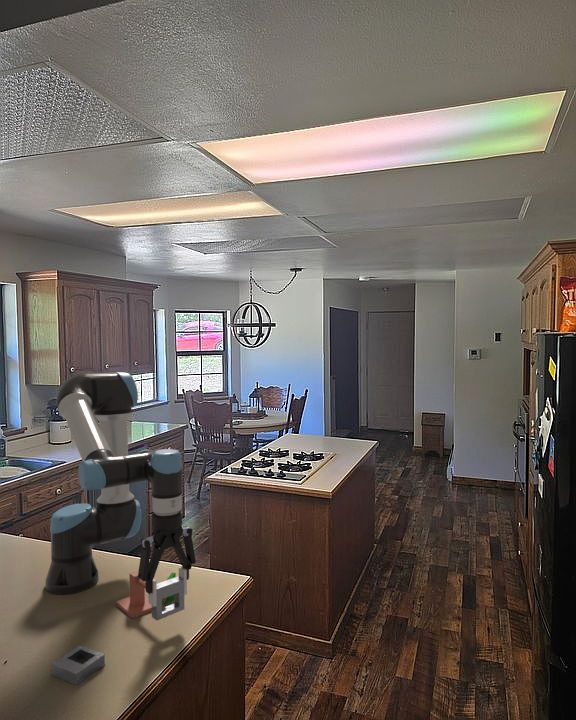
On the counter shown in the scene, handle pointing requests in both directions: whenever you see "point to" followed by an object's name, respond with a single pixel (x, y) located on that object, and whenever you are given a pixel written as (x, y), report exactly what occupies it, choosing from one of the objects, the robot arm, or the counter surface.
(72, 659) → the link
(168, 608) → the link
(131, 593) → the hook
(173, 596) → the pipe clamp
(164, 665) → the counter surface
